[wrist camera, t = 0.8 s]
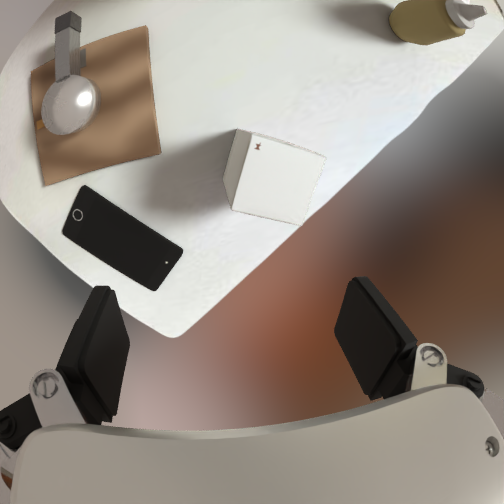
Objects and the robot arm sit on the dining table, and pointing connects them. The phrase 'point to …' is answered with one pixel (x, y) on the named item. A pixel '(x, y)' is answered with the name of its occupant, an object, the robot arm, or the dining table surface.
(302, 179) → the supplement box
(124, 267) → the cell phone
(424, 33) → the squeeze bottle
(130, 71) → the post base
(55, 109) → the square-handled spoon
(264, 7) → the dining table surface
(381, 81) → the dining table surface
